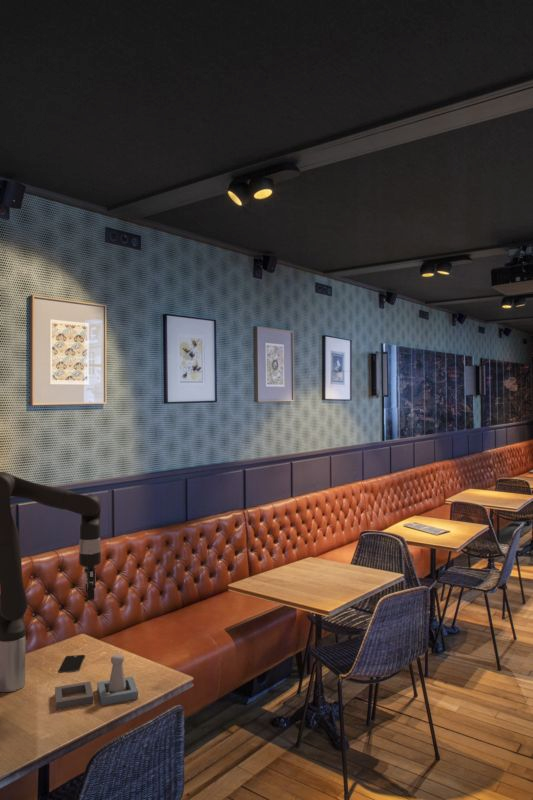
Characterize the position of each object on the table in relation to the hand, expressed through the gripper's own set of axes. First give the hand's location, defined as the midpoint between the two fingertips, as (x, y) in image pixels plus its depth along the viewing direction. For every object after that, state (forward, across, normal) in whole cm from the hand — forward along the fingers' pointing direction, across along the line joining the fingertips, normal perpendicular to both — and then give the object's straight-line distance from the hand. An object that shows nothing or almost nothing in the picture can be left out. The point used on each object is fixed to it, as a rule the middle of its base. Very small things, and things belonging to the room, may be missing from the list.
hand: (89, 596), depth 209 cm
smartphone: (+31, -18, -5) cm, 36 cm away
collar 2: (+30, +14, +8) cm, 34 cm away
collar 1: (+30, +12, -6) cm, 33 cm away
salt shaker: (+30, +14, +8) cm, 34 cm away
